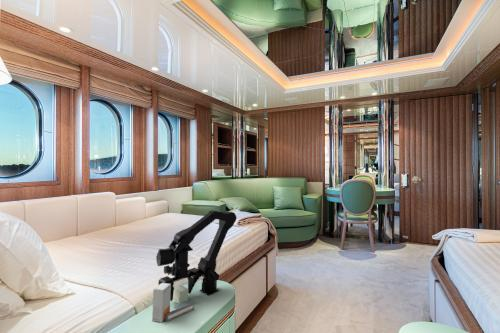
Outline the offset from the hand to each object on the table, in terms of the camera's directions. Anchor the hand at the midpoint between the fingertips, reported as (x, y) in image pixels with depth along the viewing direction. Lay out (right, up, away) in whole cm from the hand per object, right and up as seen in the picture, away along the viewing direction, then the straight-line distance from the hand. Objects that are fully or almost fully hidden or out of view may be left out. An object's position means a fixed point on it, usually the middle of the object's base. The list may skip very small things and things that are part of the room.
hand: (180, 297), depth 114 cm
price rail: (+3, -1, -12) cm, 13 cm away
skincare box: (-3, -1, -14) cm, 15 cm away
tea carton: (0, -1, 0) cm, 1 cm away
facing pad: (+3, -1, -6) cm, 6 cm away
